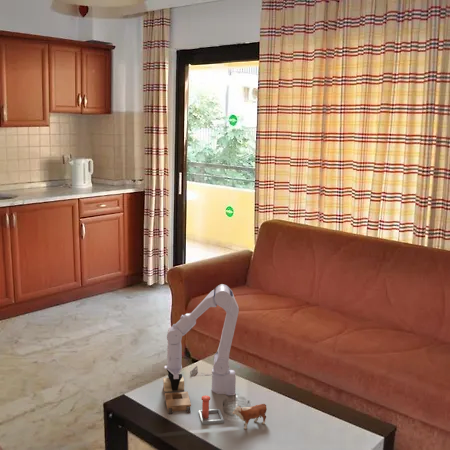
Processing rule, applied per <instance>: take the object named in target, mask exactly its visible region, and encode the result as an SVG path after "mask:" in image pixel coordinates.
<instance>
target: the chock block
mask: <svg viewBox="0 0 450 450" xmlns="http://www.w3.org/2000/svg"><path fill="white" fill-rule="evenodd" d="M162 380H163V381H162V382H163V383H162V384H163V391H164V392H165V393H168V392H173V391H172V387H171V382H170V379H169V377H163V379H162ZM177 391H178V392H182V391H185V379H184V376H182V378H181V380H180V382H179V386H178V390H177ZM177 391H176V392H177Z"/></svg>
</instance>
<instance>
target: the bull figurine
mask: <svg viewBox="0 0 450 450" xmlns="http://www.w3.org/2000/svg"><path fill="white" fill-rule="evenodd" d="M266 413H267V404H266V403H261V404H255V405H251V406H246V407H245V406H243V407H241V405H238V406H236V407H235V409H234V410H233V411H232V415H233V416H234V415H235V416H237V417H239V418H240V420H241V421H242V422H244V423H243V426H244V427H243V430H245V431H246V430H247V429H248V424H249V422H250V421H251V420H253V423H257V421H259V419H261V418H262V419H263V420H262V422H261V425H265V423H266V418H267V416H266Z"/></svg>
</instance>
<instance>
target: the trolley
mask: <svg viewBox="0 0 450 450" xmlns="http://www.w3.org/2000/svg"><path fill="white" fill-rule="evenodd" d="M164 398H165V403H166V404H165V405H166V408H167V413H168V415H173V412H183V411H186V413H187V414H189V413H191V407H192V403H191V400H190V396H189V392H188V391H178V392H177V391H174V392H165V393H164Z"/></svg>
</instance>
